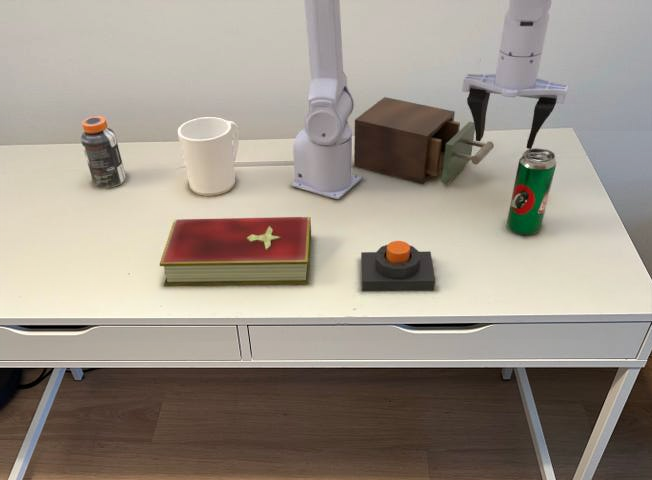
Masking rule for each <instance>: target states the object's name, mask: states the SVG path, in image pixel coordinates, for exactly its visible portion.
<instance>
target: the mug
mask: <svg viewBox="0 0 652 480" xmlns="http://www.w3.org/2000/svg"><path fill="white" fill-rule="evenodd" d="M232 132H233V133H232ZM177 137H178V141H179V145H180V149H181V155H182V157H183V163H184V167H185V171H186V175H187V179H188V185H189V188H190V190H191V191H192V192H193V193H195V194H196V195H199V196H203V197H214V196H220V195H223V194H226V193H227V192H229V191H231V189H233V188H234V186H235V184H236V173H235V162H236V159H237V153H238V150H239V149H238V148H239V141H240V131H239V127H238V125H237V123H236V122H234V121H232V120H227V119H224V118H221V117H217V116H206V117H204V116H203V117H197V118H194V119H190V120H188V121H185V122H184V123H183V124H181V125H180V126H179V127H178V129H177Z"/></svg>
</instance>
